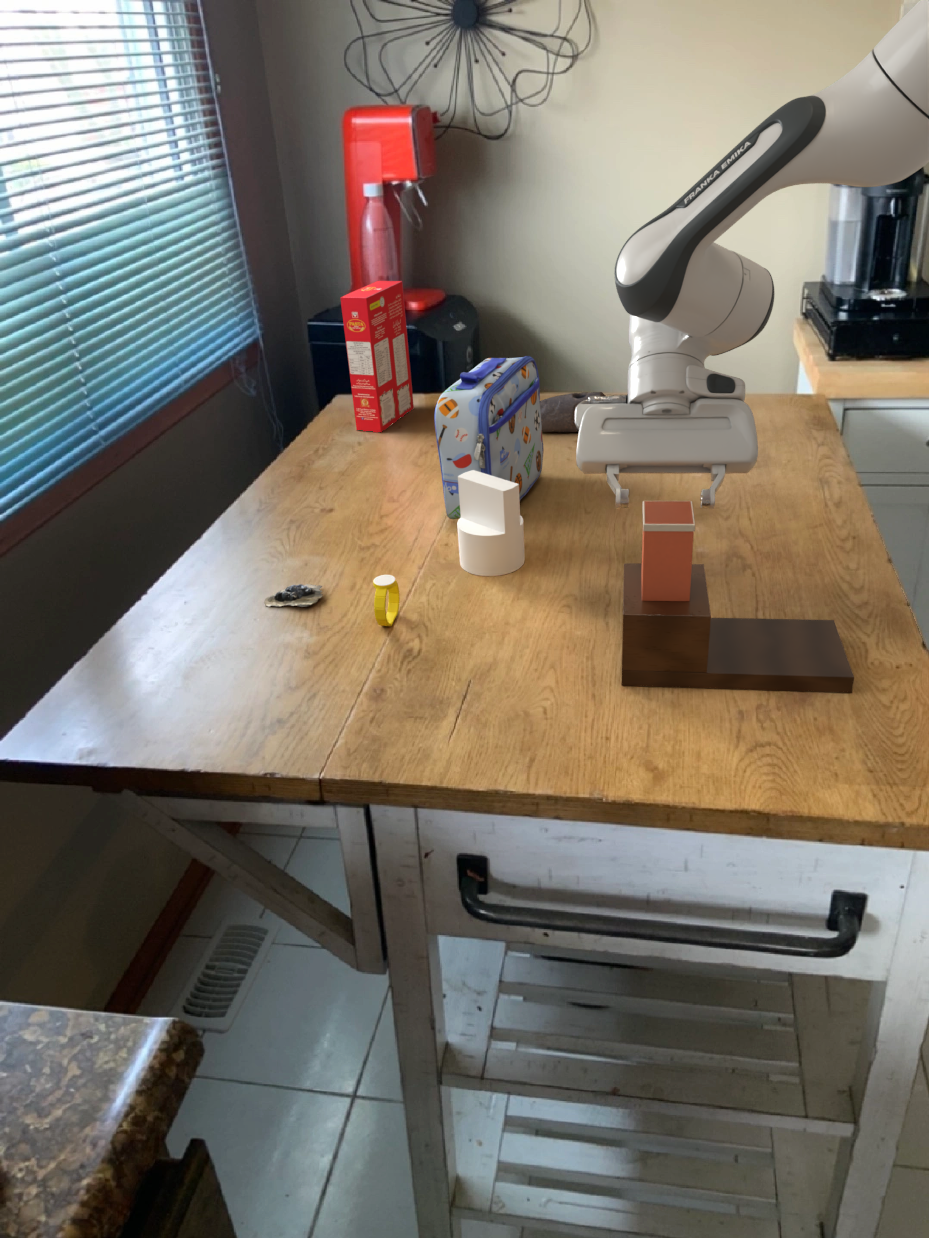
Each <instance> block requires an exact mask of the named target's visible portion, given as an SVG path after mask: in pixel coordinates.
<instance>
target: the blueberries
mask: <svg viewBox="0 0 929 1238" xmlns="http://www.w3.org/2000/svg"><path fill="white" fill-rule="evenodd" d="M322 588H323V585H321V584H320V585H319V584H318V585H317V584H311V583H306V584H302V583H299V584H292V585H290V586H287V587H286V588H284V589H282V590H278V591H277V592H276V593H273V594H272V595H270V596H267V597H266V598H265V599H264V602H263V603H264V605H265V606H267V607H271V606H272V607H282V606H283V607H284V606H291V607H294V606H297V607H301V608H303V607H305V608H307V607H310V606H312V605H313V604H317V603H318V601H319V599H322V597H323V595H324V594H323V590H321V589H322Z"/></svg>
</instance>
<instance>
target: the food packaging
mask: <svg viewBox="0 0 929 1238" xmlns="http://www.w3.org/2000/svg"><path fill="white" fill-rule="evenodd" d="M403 285H404V284H403V281H402V280H376V281H374V282H372V283H370V284H367V285H365V286H363V287H360V288H358V289H356V290H354V291H351V292H349V293H347V294H345V295H343V296H341V297H340V306H341V313H342V314H341V315H342V321H343V331H344V338H345V347H346V353H347V354H346V355H347V362H348V371H349V379H350V388H351V397H352V403H353V413H354V420H355V427H356V428H355V429H356V431H357V430H363V431H362V432H366V431H373V432H372V433H378V432H381V433H383V432H384V431H386V430H387V429H388V428H390V427H391V426H392V425H393V424H392V423H394V424H396V423H397V422H398V421H399V420H400V419H399V418H400V417H402V418H404V417H405V416H406V415H407V414H406V413H407V412H409V411H410V412H412V411H413V410H414V409H415V406H414V396H413V385H412V384H413V383H412V372H411V362H410V352H409V342H408V341H409V339H408V329H407V317H406V306H405V297H404V296H405V295H404V286H403ZM413 408H414V409H413ZM412 409H413V410H412ZM411 410H412V411H411ZM410 412H409V413H410ZM405 414H406V415H405ZM404 415H405V416H404ZM398 419H399V420H398ZM397 420H398V421H397ZM391 424H392V425H391ZM390 425H391V426H390ZM389 426H390V427H389ZM383 430H384V431H383ZM382 431H383V432H382Z"/></svg>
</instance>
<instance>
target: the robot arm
mask: <svg viewBox="0 0 929 1238" xmlns="http://www.w3.org/2000/svg"><path fill="white" fill-rule="evenodd" d="M927 164H929V0H919V1H918V2H917V3H915V4H914V5H913V6H912V7H911V8H910V9H909V10H908V11H906V13H905V14H904V15H903V16H902V17H901V18H900V19H899V20H898V21H897V22H896V23H895V24H894V25H893V26H892V27H891V28H890V29H889V30H888V31H887V32H886V34H885V35H884V36H883V37H881V39H880V40H879V42H877V44H876V45H875V46H874V47H873V48H872V50H870V52H869V53H868V54H866V56H865V57H864V58H863V59H862V60H861V61H859V63H858V64H856V65H855V66H854V67H853V68H852V69H851V70H849V71H848V72H847V73H845V75H842V76H841V77H840V78H838V79H837V80H836V81H834V82H833V83H831V84H830V85H828V86H826V87H824V88H823V89H821V90H819V91H817V92H815V93H813V94H810V95H807V96H801V97H796V98H793V99H792V100H790V101H788V102H786V103H785V104H783V105H782V106H780V107H779V108H778V109H776V110H775V111H774V112H773V113H771V114H770V115H769V116H768V117H766V118H765V119H764V120H763V121H762V122H761V123H759V125H757V126H756V127H755V128H754V129H753V130H752V131H750V133H748V134H747V135H746V136H745V137H744V138H743V139H742V140H741V141H740V142H738V143H737V144H736V145H735V146H734V147H733V148H732V149H731V150H730V151H728V153H727V154H725V155H724V156H723V157H722V158H721V159H720V160H719V161H718V162H717V163H716V164H714V166H713V167H712V168H711V169H709V170H708V171H707V172H706V173H705V174H704V175H703V176H702V177H700V179H699V180H698V181H697V182H695V184H693V185H692V186H691V187H690V188H689V189H688V190H687V191H686V192H684V194H682V195H681V197H679V198H678V199H677V200H676V201H675V202H674V203H673V204H671V206H668V208H667V209H665V210H664V211H662V212H661V213H659V214H658V215H656V216H655V217H653V218H652V219H650V220H649V221H648V222H646V223H644V224H643V225H642V226H640V227H639V228H638V229H637V230H635V231H634V232H633V233H632V234H631V235H630V236H629V237H628V239H626V241H625V243H624V244H623V245H622V247H621V248H620V251H619V253H618V255H617V257H616V260H615V264H614V273H613V274H614V283H615V288H616V292H617V296H618V298H619V300H620V304H621V305H622V307H623V308H624V309H623V310H625V312H626V313H627V314H628V315H629V318H628V345H629V348H630V353H631V356H630V357H631V358H630V361H629V364H628V367H627V394H617V395H616V394H615V395H606V396H590V397H589V399H586V400H583V401H582V402H580V403H579V404H578V405H577V407H576V410H575V425H576V427H577V428H578V430H579V431H578V434H577V435H578V436H577V442H576V451H575V453H576V454H575V461H576V467H578V469H579V471H580V472H582V474H590V475H591V474H592V475H593V474H595V475H596V474H597V475H598V474H600V475H601V474H606V483H607V484H608V486H609V488H610V489H611V491H612V492H613V494H614V495H615V509H629V508H630V488H622V486H621V485H620V482H619V481H620V474H627V475H628V474H710V481H711V482H712V483H711V485H710V487H709V488H701V491H700V499H699V500H700V507H699V508H700V509H709V510H710V509H711V510H712V509H715V506H716V505H715V504H716V494H717V492H718V491H719V489H720V488H721V486H722V485H723V482H724V481H725V478H726V477H725V476H726V474H748V473H749V472H751V471H752V469H753V468H754V467H755V466H756V463H757V461H758V458H759V457H758V456H759V444H758V443H759V442H758V433H757V426H756V420H755V416H754V413H753V411H752V408H751V407H750V406H749V404H747V403H746V402H745V399H746V383H745V380H744V379H742V378H739V377H737V376H732V375H729V374H725V373H721V372H717V371H714V370H711V369H708V368H706V367H705V361H706V359H707V358H708V357H709V356H711V357H712V356H713V357H714V356H715V357H716V356H720V355H723V354H726V353H728V352H731V351H733V350H734V349H738V348H740V347H742V346H744V345H746V344H747V343H750V342H751V341H752V340H754V339H755V338H756V337H757V336H759V335H760V333H761V332H762V331H763V330H764V329H765V327H766V325H767V324H768V322H769V320H770V317H771V315H772V312H773V308H774V303H775V284H774V280H773V276H772V274H771V272H770V271H769V270H768V269H767V268H765V267H763V266H762V265H760V264H759V263H757V262H756V261H753V260H751V258H748V257H746V256H744V255H742V254H740V253H738V252H736V251H734V250H731V249H729V248H727V247H724V246H723V245H720V244H719V243H717V242H715V241H717V240H718V239H719V238H720V237H721V236H722V235H724V234H725V233H726V232H727V231H728V230H729V229H731V227H733V226H734V225H735V224H736V223H737V222H738V221H740V220H741V219H742V218H743V217H744V216H745V215H746V214H748V213H749V212H750V211H752V209H753V208H755V207H756V206H757V205H758V204H759V203H760V202H761V201H763V200H764V199H765V198H767V197H768V196H770V195H772V194H773V193H776V192H778V191H780V190H782V189H785V188H788V187H794V186H798V185H799V186H800V185H810V184H811V185H814V184H828V185H829V184H830V185H831V184H832V185H839V186H840V185H842V186H848V187H857V188H871V187H872V188H875V187H883V186H888V185H892V184H896V183H899V182H901V181H903V180H905V179H907V178H909V177H910V176H912V175H913V174H915V173H916V172H918V171H919V170H920V169H922V168H923V167H925V166H926V165H927ZM585 403H588V404H585Z"/></svg>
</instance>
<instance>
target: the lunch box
mask: <svg viewBox="0 0 929 1238" xmlns="http://www.w3.org/2000/svg"><path fill="white" fill-rule="evenodd" d="M459 377H460V378H459V379H458V380H456V381H455V382H454V383H452V385H450V386H449V387H448V388H446V389H445V390H444V391H443V392H442V393H441V394H440V396H439V397H438V400H437V401H436V405H435V409H434V416H433V417H434V429H435V438H436V439H435V440H436V446H437V447H436V448H437V454H438V460H439V467H440V474H441V482H442V491H443V492H442V493H443V500H444V507H445V512H446V515H447V518H449V519H450V520H459V519H460V518H461V515H460V501H459V487H458V476H459V475H461V474H463V473H465V472H468V471H471V470H475V471H478V472H482V473H485V474H488V475H491V476H495V477H498V478H501V479H504V480H507V481H511V482H514V483H517V484H519V501H520V502H521V500H522V499H523V498H524V497H525V496H526V495H527V494H528V493H529V491H530V489H532V487H533V486H534V484H535V483H536V482H537V480H538V479H539V477H540V475H541V474H542V470H543V463H544V439H543V432H542V425H541V412H540V401H541V389H540V374H539V370H538V365H537V363H536V360H535V359H534V358H533V357H532V356H531V355H525V356H521V357H509V358H508V357H488V358H487V357H486V358H485V359H484V360H483V361H481V362H480V363H478V364H477V365H476V366H475V367H474V368H472V369H471V370H470V371H468V372H465V371H463V372H460V375H459Z"/></svg>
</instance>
